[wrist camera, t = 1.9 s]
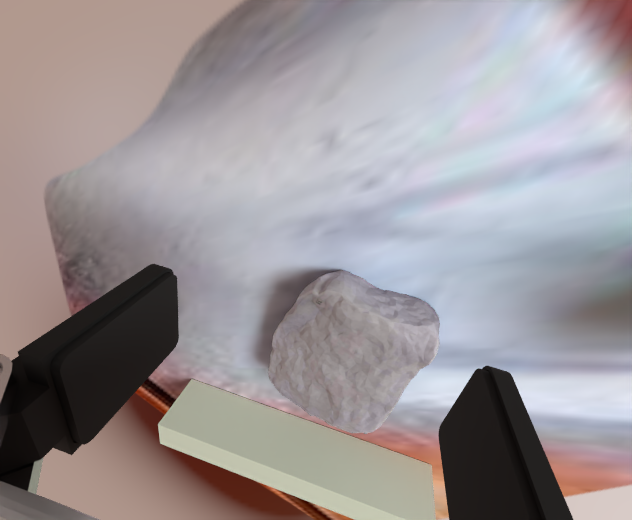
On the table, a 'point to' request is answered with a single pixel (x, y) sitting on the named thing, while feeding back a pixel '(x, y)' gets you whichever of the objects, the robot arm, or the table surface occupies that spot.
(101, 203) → the table surface
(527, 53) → the table surface
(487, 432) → the robot arm
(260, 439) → the board
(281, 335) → the grey rock
